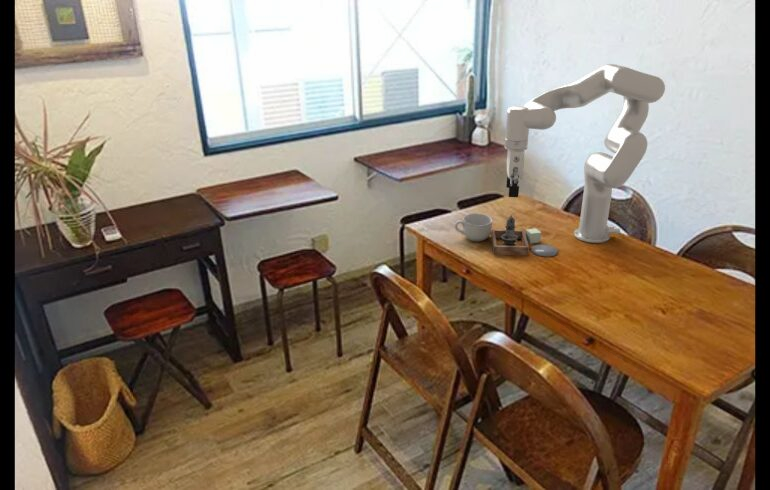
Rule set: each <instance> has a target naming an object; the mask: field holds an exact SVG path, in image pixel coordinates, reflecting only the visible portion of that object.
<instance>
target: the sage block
mask: <svg viewBox="0 0 770 490" xmlns="http://www.w3.org/2000/svg"><path fill="white" fill-rule="evenodd" d="M525 234H526V238H527V242H528V244H536V243H541V237H542V232H541V231H540V230H539V229H537V228H529V229H526V230H525Z"/></svg>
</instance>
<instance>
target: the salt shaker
mask: <svg viewBox="0 0 770 490" xmlns="http://www.w3.org/2000/svg"><path fill="white" fill-rule="evenodd" d="M515 221H516V219H515V218H514V217H513V215H510V216H509V217H507V218H506V225H505V230H506V233H505V234H503V235H502V238H501V240H502V242H503V243H502V244H501V246H517V244H516V243H517V241H518V236H517V235H515V234H514V230H516V226H515V225H516V224H515V223H516V222H515Z"/></svg>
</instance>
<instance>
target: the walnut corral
mask: <svg viewBox="0 0 770 490" xmlns="http://www.w3.org/2000/svg"><path fill="white" fill-rule="evenodd" d="M505 233H506V229H491V233H490V236H491V237H490V238H491V244H492V252H493V255H504V256H505V255H507V256H508V255H510V256H511V255H515V256H516V255H517V256H529V251H530V245H529V242H528V241H527V238H526V230H524V229H514V234H515V235H517V236H518V239H521V243H522V245H516V246H502V245H497V239H502V235H503V234H505ZM518 239H517V240H518Z"/></svg>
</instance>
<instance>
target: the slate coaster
mask: <svg viewBox="0 0 770 490" xmlns="http://www.w3.org/2000/svg"><path fill="white" fill-rule="evenodd" d="M530 251H531V253H532V254H533V255H536V256H538V257H543V258H544V257H545V258H551V257H554V256H557V255H558V252H559V251H558V249H557V247H555V246H553V245H550V244H543V243H542V244H536V245H535V244H534V245H533V246H532V247H531V249H530Z"/></svg>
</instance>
